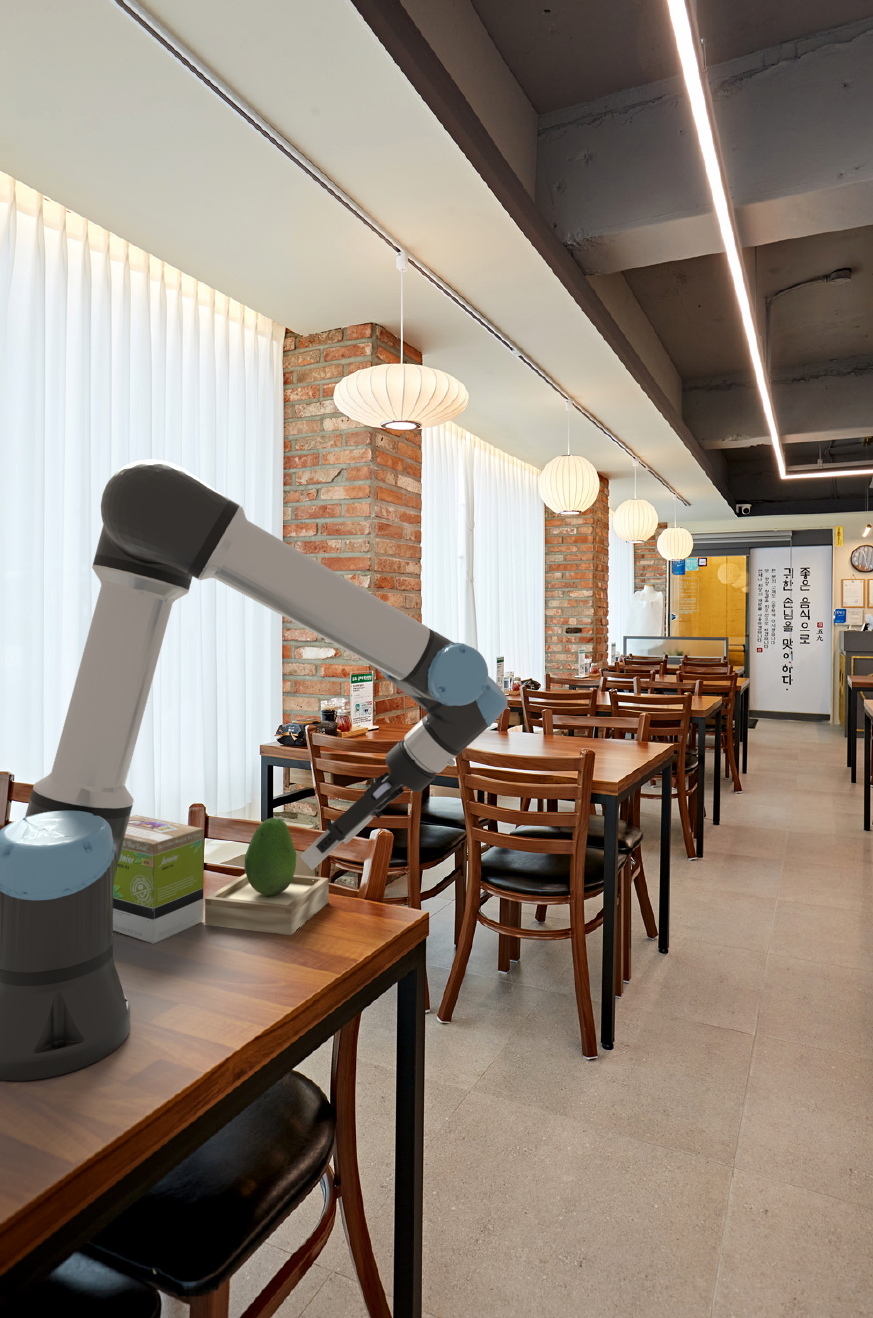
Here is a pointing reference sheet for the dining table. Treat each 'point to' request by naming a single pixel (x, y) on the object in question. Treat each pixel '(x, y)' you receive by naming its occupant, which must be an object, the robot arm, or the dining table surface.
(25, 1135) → the dining table surface
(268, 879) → the avocado
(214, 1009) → the dining table surface
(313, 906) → the wooden tray
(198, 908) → the tea box
